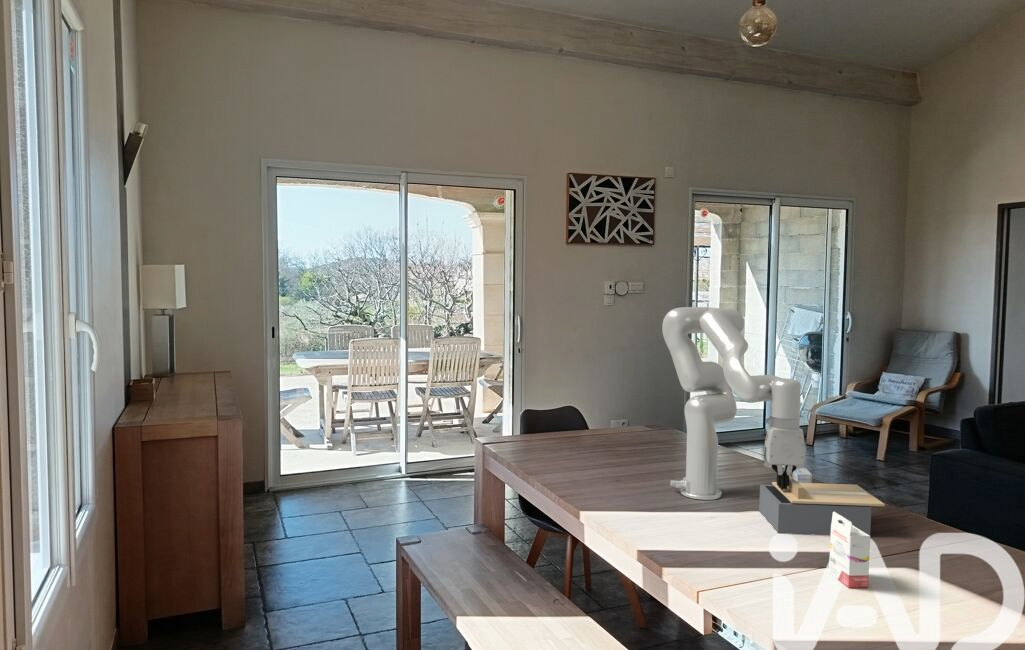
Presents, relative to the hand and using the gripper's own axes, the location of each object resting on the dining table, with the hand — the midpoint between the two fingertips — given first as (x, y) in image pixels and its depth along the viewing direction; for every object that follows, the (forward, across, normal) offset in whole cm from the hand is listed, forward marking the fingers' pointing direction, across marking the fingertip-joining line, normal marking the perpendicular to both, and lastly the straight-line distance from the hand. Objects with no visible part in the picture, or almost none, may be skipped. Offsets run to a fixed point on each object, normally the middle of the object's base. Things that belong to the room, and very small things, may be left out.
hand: (782, 488), depth 197 cm
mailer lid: (+1, +12, 0) cm, 12 cm away
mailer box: (+10, +8, 0) cm, 13 cm away
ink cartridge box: (+10, +4, -38) cm, 39 cm away
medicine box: (+10, +13, +24) cm, 29 cm away
